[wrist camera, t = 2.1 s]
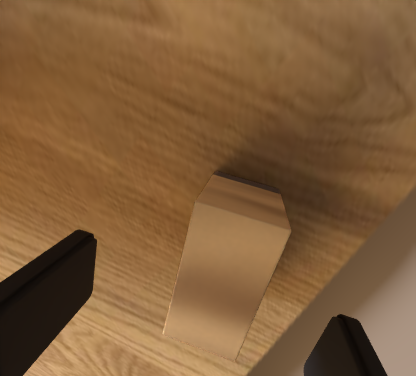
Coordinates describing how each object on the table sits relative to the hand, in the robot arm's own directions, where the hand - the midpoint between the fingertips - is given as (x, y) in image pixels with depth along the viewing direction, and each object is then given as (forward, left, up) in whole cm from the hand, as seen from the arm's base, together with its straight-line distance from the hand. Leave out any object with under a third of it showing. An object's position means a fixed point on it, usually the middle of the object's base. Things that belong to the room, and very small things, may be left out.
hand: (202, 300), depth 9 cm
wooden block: (0, 0, -5) cm, 5 cm away
